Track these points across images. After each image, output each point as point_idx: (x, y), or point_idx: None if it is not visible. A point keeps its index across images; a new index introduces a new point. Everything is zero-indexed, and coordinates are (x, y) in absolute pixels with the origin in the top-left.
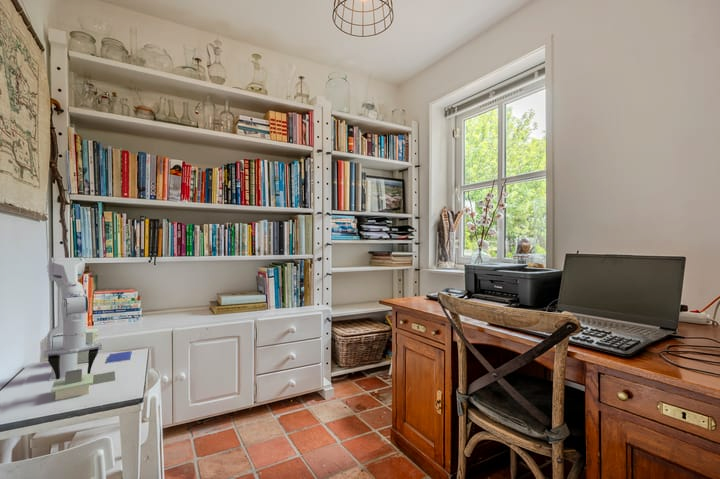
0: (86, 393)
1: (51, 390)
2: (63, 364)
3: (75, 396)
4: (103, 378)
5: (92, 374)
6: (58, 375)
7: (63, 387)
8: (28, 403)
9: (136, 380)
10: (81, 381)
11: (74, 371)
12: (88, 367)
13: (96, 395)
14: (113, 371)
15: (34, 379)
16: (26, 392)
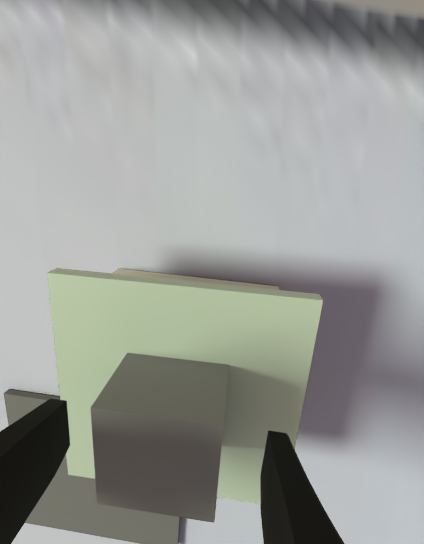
0: (124, 273)
1: (319, 298)
2: None
3: (180, 278)
4: (62, 461)
5: (71, 454)
6: (277, 457)
7: (239, 305)
8: (396, 367)
9: None
10: (126, 356)
11: (150, 477)
12: (12, 441)
13: (78, 226)
14: (29, 523)
15: None
16: (381, 529)
